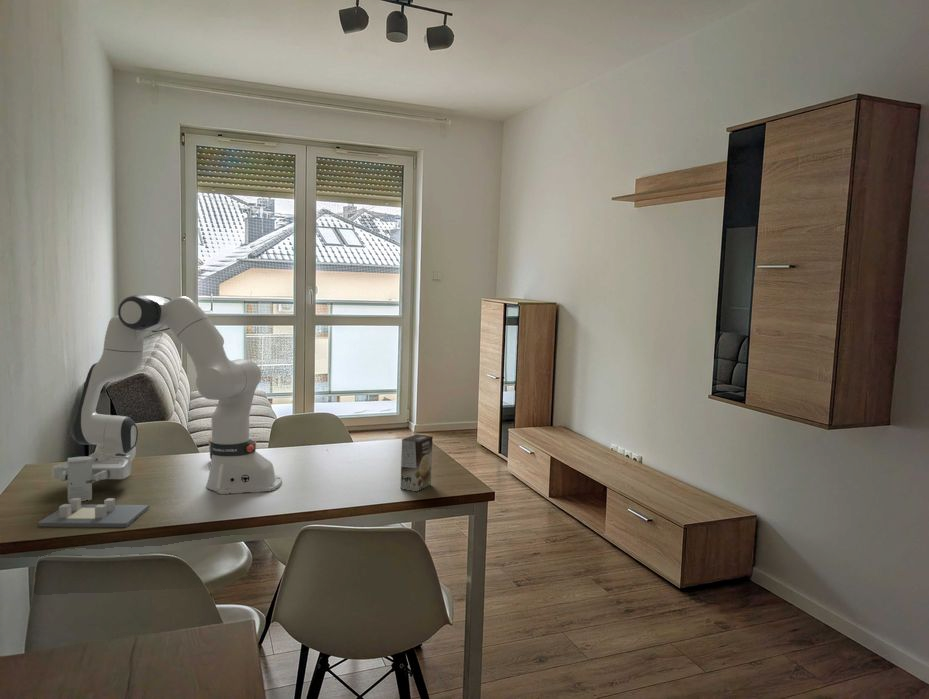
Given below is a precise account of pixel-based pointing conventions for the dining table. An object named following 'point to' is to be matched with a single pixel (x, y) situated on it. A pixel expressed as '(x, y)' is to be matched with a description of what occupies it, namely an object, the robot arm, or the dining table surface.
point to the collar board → (93, 514)
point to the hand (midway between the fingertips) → (78, 478)
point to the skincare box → (79, 478)
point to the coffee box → (416, 462)
